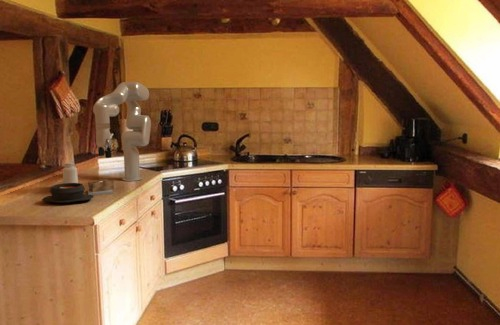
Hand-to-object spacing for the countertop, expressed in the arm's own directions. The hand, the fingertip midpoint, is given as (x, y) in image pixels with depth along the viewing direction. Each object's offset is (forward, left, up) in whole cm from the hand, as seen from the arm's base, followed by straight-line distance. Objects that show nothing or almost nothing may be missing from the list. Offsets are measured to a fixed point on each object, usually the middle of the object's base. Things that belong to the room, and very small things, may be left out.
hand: (104, 156), depth 246 cm
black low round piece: (+20, -20, -20) cm, 35 cm away
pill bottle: (-16, -19, -20) cm, 32 cm away
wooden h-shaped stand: (+3, -3, -19) cm, 19 cm away
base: (+3, -3, -20) cm, 20 cm away
